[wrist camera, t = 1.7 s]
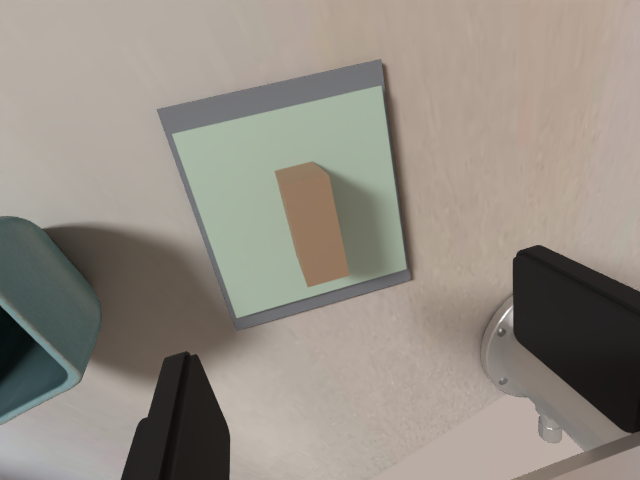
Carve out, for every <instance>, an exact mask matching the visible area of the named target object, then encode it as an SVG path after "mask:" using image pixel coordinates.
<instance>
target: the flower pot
mask: <svg viewBox="0 0 640 480" xmlns="http://www.w3.org/2000/svg"><path fill="white" fill-rule="evenodd" d="M101 321H102V312H101V306H100V303H99V300H98V298H97V296H96V294H95V292H94V290H93V289H92V287H91V286H90V284H89V283H88V282H87V280H86V279H85V278H84V277H83V276H82V275H81V273H80V272H79V271H78V270H77V269H76V268H75V267H74V265H73V264H72V263H71V262H70V261H69V260H68V258H67V257H66V256H65V255H64V254H63V253H62V251H61V250H60V249H59V248H58V247H57V245H56V244H55V243H54V242H53V241H52V239H51V238H50V237H49V236H48V235H47V234H46V233H45V232H44V231H43V230H42V229H41V228H40V227H38V226H37V225H36V224H34V223H32V222H30V221H28V220H26V219H23V218H19V217H12V216H2V217H0V425H2V424H4V423H6V422H8V421H9V420H11V419H13V418H15V417H17V416H19V415H21V414H22V413H24V412H26V411H28V410H30V409H32V408H34V407H36V406H38V405H40V404H42V403H43V402H45V401H47V400H49V399H51V398H53V397H55V396H57V395H59V394H61V393H63V392H66V391H68V390H70V389H71V388H73V387H74V386H76V385H77V384H78V383H80V381H81V380H82V378H83V375H84V372H85V370H86V367H87V364H88V361H89V359H90V356H91V353H92V351H93V348H94V345H95V343H96V340H97V337H98V334H99V331H100V327H101Z"/></svg>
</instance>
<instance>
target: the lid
mask: <svg viewBox="0 0 640 480" xmlns="http://www.w3.org/2000/svg"><path fill="white" fill-rule="evenodd" d="M172 136H173V139H174V142H175V144H176V147H177V150H178V153H179V156H180V159H181V162H182V164H183V167H184V170H185V173H186V176H187V179H188V181H189V184H190V187H191V190H192V193H193V196H194V198H195V201H196V204H197V207H198V210H199V213H200V216H201V218H202V221H203V224H204V227H205V230H206V233H207V235H208V238H209V241H210V244H211V247H212V250H213V252H214V255H215V258H216V261H217V264H218V267H219V270H220V272H221V275H222V278H223V281H224V284H225V287H226V289H227V292H228V295H229V298H230V301H231V304H232V306H233V309H234V312H235V315H236V318H239V317H243V316H246V315H250V314H253V313H256V312H260V311H263V310H267V309H270V308H274V307H277V306H281V305H284V304H288V303H291V302H295V301H298V300H301V299H305V298H308V297H312V296H315V295H319V294H322V293H326V292H329V291H333V290H336V289H340V288H343V287H346V286H350V285H353V284H357V283H360V282H364V281H367V280H371V279H374V278H378V277H381V276H385V275H388V274H392V273H395V272H398V271H402V270H405V269H407V267H406V260H405V253H404V245H403V238H402V231H401V224H400V216H399V209H398V202H397V195H396V187H395V180H394V173H393V166H392V158H391V151H390V144H389V137H388V129H387V122H386V115H385V108H384V100H383V93H382V86H376V87H372V88H367V89H363V90H359V91H354V92H350V93H346V94H341V95H337V96H333V97H329V98H324V99H320V100H316V101H311V102H307V103H303V104H298V105H294V106H290V107H285V108H281V109H277V110H273V111H268V112H264V113H260V114H255V115H251V116H247V117H242V118H238V119H234V120H229V121H225V122H221V123H217V124H212V125H208V126H204V127H199V128H195V129H191V130H186V131H182V132H178V133H174V134H172Z"/></svg>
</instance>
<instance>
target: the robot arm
mask: <svg viewBox="0 0 640 480" xmlns="http://www.w3.org/2000/svg"><path fill="white" fill-rule="evenodd" d="M481 361H482V366H483V369H484V371H485V373H486V375H487V376H488V377H489V379H490V380H491V381H492V382H493V383H494V385H496V386H497V387H498V388H499V389H500V390H501V391H503V392H505V393H507V394H509V395H512V396H516V397H528V398H529V399H530V400H531V401H532V402H533V403H534V404H535V407H536V411H537V412H538V414H539V415H540V416H539V422H538V423H539V424H538V428H539V429H538V432H539V436H540V437H541V438H542V439H543V440H545V441H547V442H548V443H559V442H560V441H561V440H562V429H563V430H564V431H565V432H566V433H567V434H568V435H569V436H570V437H571V438H572V439H573V440H574V441H575V442H576V443H577V444H578V445H579V446H580V447H581V448H582V449H583V450H584V452H583V453H580V454H577V455H575V456H572V457H570V458H567V459H565V460H562V461H559V462H557V463H554V464H551V465H549V466H546V467H543V468H541V469H538V470H535V471H533V472H530V473H528V474H525V475H523V476H520V477H517V478H515V479H512V480H640V292H639V291H637V290H635V289H633V288H631V287H629V286H626V285H624V284H622V283H620V282H618V281H616V280H614V279H612V278H609V277H607V276H605V275H603V274H601V273H599V272H597V271H594V270H592V269H590V268H588V267H586V266H584V265H582V264H580V263H577V262H575V261H573V260H571V259H569V258H567V257H565V256H563V255H560V254H558V253H556V252H554V251H552V250H550V249H548V248H546V247H543V246H540V245H536V246H533V247H530V248H526V249H523V250H520V251H519V252H518V253H517V255H516V257H515V258H514V259H513V295H512V296H511V297H510V298H508V299H507V300H506V301H505V302H504V303H503V305H502V306H501V307H500V308H499V309H498V310H497V311H496V313H495V315H494V316H493V318H492V319H491V321H490V322H489V324H488V327H487V329H486V331H485V333H484V337H483V341H482V345H481ZM229 474H230V434H229V429H228V426H227V423H226V421H225V418H224V416H223V414H222V411H221V409H220V407H219V404H218V402H217V399H216V397H215V395H214V392H213V390H212V388H211V385H210V383H209V381H208V378H207V376H206V373H205V371H204V369H203V366H202V364H201V362H200V359H199V357H198V356H197V355H196V354H195V355H192V356H191V355H190V354H189V352H187V351H186V352H183V353H179V354H176V355H173V356H169V357H166V358H165V359H164V361H163V364H162V368H161V371H160V375H159V379H158V382H157V386H156V389H155V393H154V396H153V400H152V403H151V407H150V410H149V414H148V417H147V418H144V419H142V420H141V421H140V422H139V424H138V426H137V428H136V432H135V435H134V438H133V441H132V445H131V448H130V451H129V454H128V458H127V461H126V464H125V468H124V471H123V474H122V477H121V480H229Z"/></svg>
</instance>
